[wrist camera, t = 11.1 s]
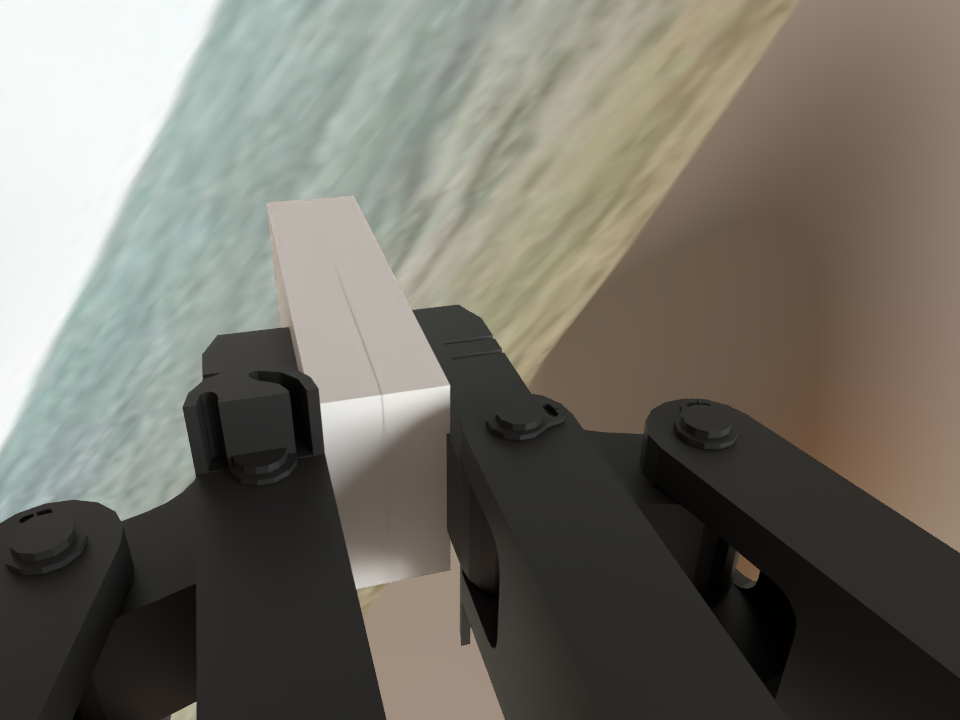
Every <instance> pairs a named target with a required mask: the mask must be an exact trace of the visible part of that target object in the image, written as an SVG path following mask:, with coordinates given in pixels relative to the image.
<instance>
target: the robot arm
mask: <svg viewBox="0 0 960 720" xmlns="http://www.w3.org/2000/svg"><path fill="white" fill-rule="evenodd" d="M267 212H268V220H269V229H270V237H271V246H272V254H273V263H274V271H275V280H276V288H277V297H278V305H279V314H280V322H281V328H276V329H267V330H258V331H250V332H241V333H233V334H224V335H217V337H216V338H215V339H214V340H213V342H212V343H211V344H210V345H209V347H208V348H207V349H206V351H205V352H204V353H203V354H202V372H203V381H202V382H201V383H200V384H199V385H197V386H196V387H195V388H194V389H193V390H192V391H190V392H189V393H188V395H187V398H186V400H185V403H184V405H183V412H184V417H185V422H186V427H187V432H188V437H189V442H190V447H191V452H192V458H193V463H194V468H195V473H196V479H195V480H194V482H193V483H192V484H190V485H189V486H188V487H187V488H186V489H185V490H184V491H183V492H182V493H181V494H179V495H178V496H176V497H175V498H173V499H172V500H170V501H169V502H167V503H165V504H163V505H161V506H159V507H157V508H154V509H152V510H150V511H148V512H145V513H143V514H140V515H137V516H135V517H132V518H129V519H127V520H124V521H120V519H119V517H118V516H117V514H116V512H115V511H113V510H111V509H109V508H107V507H105V506H104V505H102V504H100V503H97V502H88V501H79V500H69V501H61V502H54V503H47V504H43V505H40V506H37V507H34V508H31V509H29V510H26V511H23V512H20V513H17V514H15V515H13V516H12V517H10V518H8V519H7V520H5V521H3V522H2V523H0V720H170V718H171V714H173V713H175V712H177V711H179V710H181V709H183V708H185V707H186V706H188V705H190V704H192V703H194V702H196V701H197V720H386V716H385V712H384V707H383V703H382V699H381V695H380V690H379V686H378V681H377V677H376V673H375V668H374V664H373V660H372V655H371V652H370V647H369V642H368V638H367V634H366V630H365V625H364V621H363V616H362V612H361V608H360V603H359V599H358V595H357V590H356V589H360V588H365V587H370V586H375V585H379V584H384V583H389V582H394V581H399V580H404V579H409V578H414V577H419V576H424V575H429V574H434V573H438V572H444V571H449V570H450V539H451V542H452V544H453V547H454V549H455V552H456V555H457V557H458V560H459V562H460V636H461V646H462V645H467V644H470V627H471V628H472V631H473V633H474V636H475V639H476V642H477V644H478V647H479V650H480V652H481V655H482V658H483V661H484V663H485V666H486V669H487V671H488V674H489V677H490V680H491V683H492V685H493V688H494V690H495V693H496V696H497V699H498V702H499V704H500V707H501V710H502V713H503V715H504V718H505V720H960V553H959V552H957V551H956V550H954V549H953V548H951V547H949V546H948V545H947V544H945V543H943V542H942V541H940V540H939V539H937V538H936V537H934V536H933V535H931V534H930V533H928V532H926V531H925V530H924V529H922V528H920V527H919V526H917V525H916V524H914V523H913V522H911V521H910V520H908V519H906V518H905V517H904V516H902V515H900V514H899V513H897V512H896V511H894V510H893V509H891V508H890V507H888V506H887V505H885V504H884V503H882V502H880V501H879V500H877V499H876V498H874V497H872V496H871V495H870V494H868V493H867V492H865V491H863V490H862V489H860V488H859V487H857V486H855V485H854V484H852V483H851V482H850V481H848V480H847V479H845V478H844V477H842V476H840V475H839V474H837V473H836V472H834V471H833V470H831V469H830V468H828V467H827V466H825V465H824V464H822V463H821V462H819V461H817V460H816V459H814V458H813V457H811V456H810V455H808V454H807V453H805V452H804V451H802V450H800V449H799V448H797V447H796V446H794V445H793V444H791V443H790V442H788V441H786V440H785V439H784V438H782V437H781V436H779V435H777V434H776V433H774V432H773V431H771V430H770V429H768V428H767V427H765V426H764V425H762V424H761V423H759V422H757V421H756V420H754V419H753V418H751V417H750V416H748V415H747V414H745V413H743V412H741V411H739V410H736V409H734V408H732V407H730V406H728V405H725V404H721V403H717V402H713V401H710V400H705V399H680V400H675V401H669V402H665V403H663V404H661V405H660V406H658V407H656V408H654V409H653V410H651V412H650V414H649V416H648V417H647V419H646V422H645V428H644V434H627V433H606V432H597V431H588V430H584V429H583V428H582V427H581V425H580V424H579V423H578V421H577V420H576V418H575V417H574V416H573V414H572V413H571V412H569V411H568V410H567V409H566V408H565V407H564V406H563V405H562V404H560V403H558V402H556V401H554V400H551V399H549V398H547V397H544V396H541V395H535V394H531V393H530V391H529V390H528V388H527V387H526V385H525V384H524V382H523V381H522V379H521V378H520V376H519V375H518V373H517V372H516V370H515V369H514V367H513V365H512V364H511V362H510V361H509V359H508V358H507V356H506V355H505V353H502V349H501V347H500V346H499V344H498V343H497V341H496V340H495V339H493V335H492V334H491V332H490V331H489V329H488V328H487V326H486V325H485V323H484V322H483V320H482V319H481V318H480V317H478V316H477V315H475V314H473V313H472V312H470V311H468V310H466V309H465V308H463V307H461V306H460V305H452V306H443V307H435V308H426V309H417V310H412V309H411V307H410V305H409V303H408V301H407V299H406V298H405V296H404V294H403V292H402V290H401V288H400V286H399V284H398V282H397V280H396V278H395V276H394V274H393V272H392V270H391V268H390V266H389V264H388V262H387V260H386V258H385V256H384V254H383V252H382V250H381V248H380V246H379V244H378V242H377V240H376V239H375V237H374V235H373V233H372V231H371V229H370V227H369V225H368V223H367V221H366V219H365V217H364V215H363V213H362V211H361V209H360V207H359V205H358V203H357V201H356V199H355V197H354V196H345V197H332V198H319V199H306V200H293V201H281V202H268V203H267ZM739 553H740V554H741V555H742V556H743V557H745V558H746V559H747V560H748V561H750V562H751V563H752V564H753V565H754V566H756V567H757V568H758V569H759V570H760V574H759V578H758V580H757V582H756V581H752V580H750V579H749V578H747V577H745V576H744V575H742V573H740V572H739V571H738V570H737V569H736V566H737V562H738V558H739Z"/></svg>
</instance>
